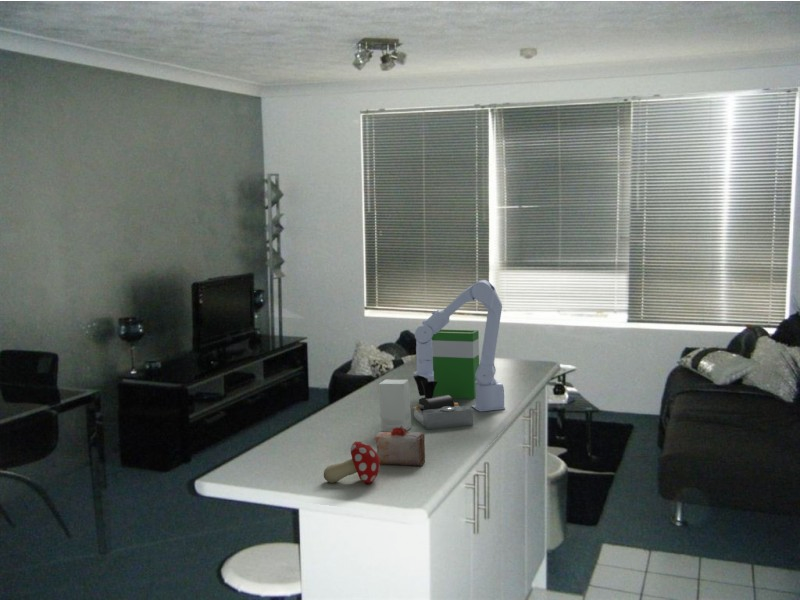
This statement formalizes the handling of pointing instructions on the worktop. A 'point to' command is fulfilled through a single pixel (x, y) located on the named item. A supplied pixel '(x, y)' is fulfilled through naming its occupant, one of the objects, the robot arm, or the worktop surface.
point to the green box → (455, 362)
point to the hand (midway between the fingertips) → (425, 397)
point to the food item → (401, 447)
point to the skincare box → (394, 404)
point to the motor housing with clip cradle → (444, 416)
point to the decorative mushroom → (356, 465)
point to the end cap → (436, 402)
